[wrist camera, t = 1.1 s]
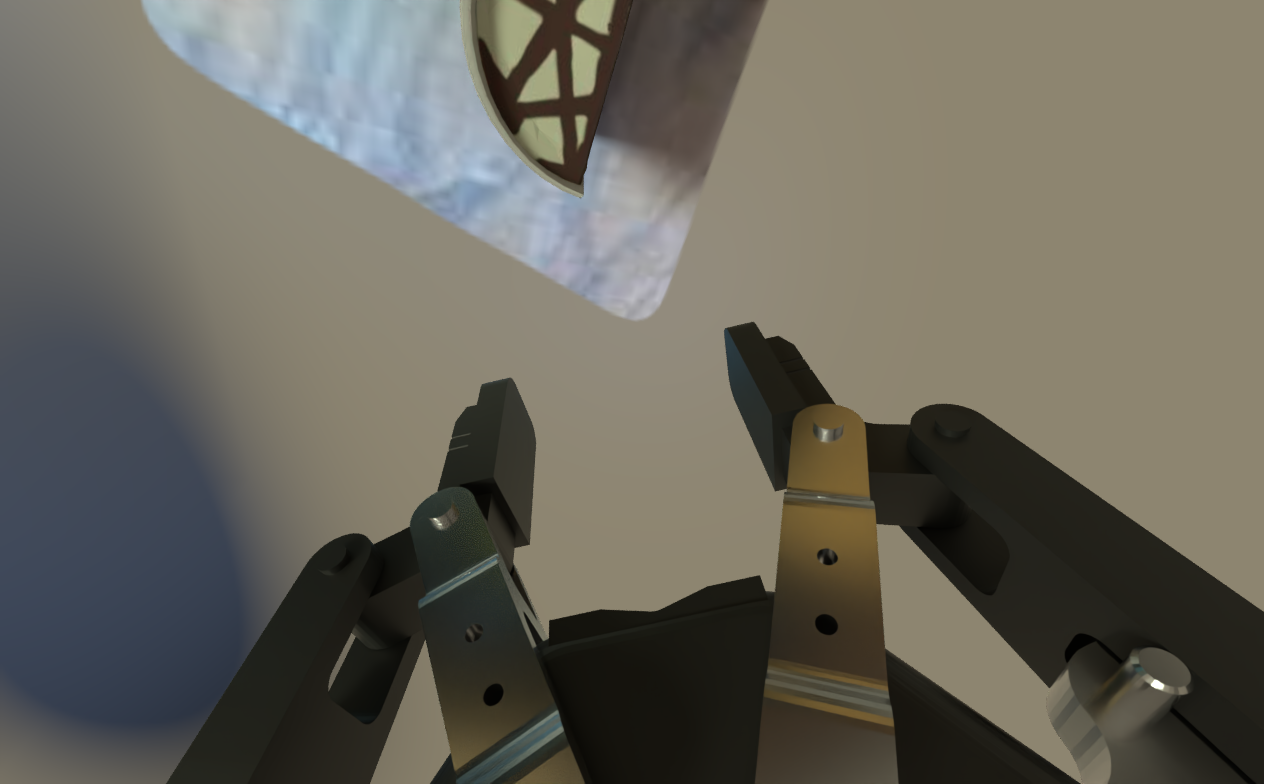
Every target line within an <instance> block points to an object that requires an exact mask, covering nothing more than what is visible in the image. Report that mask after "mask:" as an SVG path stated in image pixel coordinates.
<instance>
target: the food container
mask: <svg viewBox="0 0 1264 784" xmlns="http://www.w3.org/2000/svg"><path fill="white" fill-rule="evenodd" d="M632 2H633V0H460V18H461V30H462V40H463V45H464V50H465V55H466V59H467V64H468V69H469V71H470V74H471V77H472V80H473V83H474V86H475V88H476V91H477V94H478V97H479V99H480V101H481V103H482V105H483V107H484V109H485V111H486V112H487V114H488V116H489V118H490V120H491V122H492V123H493V125H494V126H495V128H496V129H497V131H498V132H499V134H500V135H501V137H502V138H503V139H504V141H505V142H506V143H507V145H508V146H509V147H510V148H511V149H512V150H513V151H514V152H515V154H516V155H517V156H518V157H519V158H520V159H521V160H522V161H523V163H525V164H526V165H527V166H528V167H529V168H531V169H532V170H533V171H534V172H535V173H536V174H538V175H539V176H540V177H541V178H543V179H544V180H546V181H547V182H549V183H551V184H552V185H554V186H556V187H557V188H559V189H560V190H562V191H565V192H567V193H569V194H572V195H574V196H576V197H579V198H581V196H582V197H583V195H584V173H585V171H586V169H587V162H588V157H589V154H590V150H591V146H592V143H593V139H594V136H595V132H596V129H597V126H598V122H599V119H600V115H601V111H602V108H603V104H604V101H605V97H606V94H607V90H608V87H609V83H610V80H611V76H612V73H613V70H614V66H615V63H616V59H617V56H618V53H619V49H620V46H621V42H622V39H623V35H624V31H625V28H626V24H627V20H628V16H629V13H630V9H631V5H632Z"/></svg>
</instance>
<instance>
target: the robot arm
mask: <svg viewBox="0 0 1264 784" xmlns="http://www.w3.org/2000/svg"><path fill="white" fill-rule="evenodd" d="M724 336H725V346H726V355H727V366H728V375H729V382H730V386H731V391H732V394H733V397H734V400H735V402H736V404H737V407H738V409H739V411H740V413H741V415H742V418H743V420H744V422H745V424H746V427H747V429H748V431H749V434H750V436H751V438H752V440H753V443H754V445H755V447H756V449H757V452H758V454H759V456H760V458H761V460H762V463H763V465H764V467H765V470H766V471H767V474H768V476H769V478H770V481H771V483H772V485H773V487H774V490H775V491H779V490H783V489H787V492H785V493H784V499H783V509H782V520H781V531H780V543H779V553H778V563H777V574H776V585H775V592H769V591H765V589H764V586H763V583H762V580H761V577H760V576H754V577H749V578H745V579H740V580H736V581H731V582H726V583H721V584H717V585H712V586H707V587H706V588H704V589H701V590H699V591H697V592H695V593H693V594H691V595H689V596H687V597H685V598H683V599H681V600H679V601H677V602H675V603H673V604H671V605H669V606H667V607H665V608H663V609H661V610H658V611H652V612H648V611H623V610H596V611H591V612H587V613H582V614H578V615H573V616H568V617H563V618H559V619H555V620H550V621H549V639H548V637H547V635H546V633H545V631H544V629H543V626H542V624H541V622H540V620H539V617H538V615H537V613H536V611H535V609H534V606H533V604H532V602H531V599H530V597H529V595H528V593H527V591H526V588H525V586H524V584H523V582H522V579H521V577H520V575H519V573H518V571H517V568H516V567H515V565H514V563H513V557H514V548H516V547H521V546H526V545H530V531H531V514H532V499H533V482H534V467H535V451H536V438H535V432H534V428H533V425H532V422H531V419H530V417H529V415H528V413H527V410H526V408H525V405H524V403H523V401H522V399H521V396H520V394H519V392H518V389H517V387H516V384H515V382H514V381H513V379H512V378H507V379H502V380H498V381H493V382H489V383H485V384H482V386H481V389H480V393H479V398H478V402H477V405H475V406H470V407H467V408H466V409H465V410H464V412H463V413H462V414H461V415H460V417H459V418H458V419H457V421H456V422H455V426H454V430H453V434H452V439H451V441H450V445H449V452H448V453H447V456H446V460H445V465H444V468H443V472H442V476H441V479H440V483H439V487H438V491H437V492H436V493H434V494H432V495H431V496H429V497H428V498H427V499H425V500H424V501H423V502H422V503H421V504H420V505H419V506H418V507H417V509H416V510H415V511H414V513H413V515H412V517H411V521H410V527H408V528H406V529H404V530H402V531H401V532H398V533H396V534H394V535H392V536H390V537H388V538H386V539H384V540H382V541H380V542H378V543H376V544H373V543H372V542H371V541H370V540H369V539H368V538H367V537H366V536H365V535H362V534H354V533H353V534H348V535H344V536H341V537H339V538H336V539H334V540H332V541H331V542H329V543H328V544H326V545H325V546H323V547H322V548H321V549H320V550H319V551H318V552H316V553H315V554H314V555H313V556H312V558H311V559H310V560H309V561H308V563H307V564H306V566H305V567H304V569H303V570H302V572H301V573H300V575H299V577H298V578H297V580H296V581H295V583H294V584H293V586H292V588H291V589H290V591H289V592H288V594H287V595H286V597H285V599H284V600H283V602H282V603H281V605H280V606H279V608H278V609H277V611H276V613H275V614H274V616H273V617H272V619H271V621H270V622H269V623H268V625H267V627H266V628H265V630H264V631H263V633H262V635H261V636H260V638H259V639H258V641H257V642H256V644H255V645H254V647H253V649H252V650H251V652H250V653H249V655H248V656H247V658H246V660H245V661H244V663H243V664H242V666H241V667H240V669H239V670H238V672H237V674H236V675H235V677H234V678H233V680H232V682H231V683H230V685H229V686H228V688H227V689H226V691H225V693H224V694H223V696H222V697H221V699H220V700H219V702H218V703H217V705H216V706H215V708H214V710H213V711H212V713H211V714H210V716H209V717H208V719H207V721H206V722H205V724H204V725H203V727H202V728H201V730H200V731H199V733H198V735H197V736H196V738H195V739H194V741H193V742H192V744H191V746H190V747H189V749H188V750H187V752H186V754H185V755H184V757H183V758H182V760H181V761H180V763H179V764H178V766H177V768H176V769H175V771H174V772H173V774H172V775H171V777H170V778H169V780H168V782H167V783H166V784H370V782H371V779H372V777H373V774H374V771H375V769H376V766H377V764H378V761H379V758H380V756H381V753H382V750H383V748H384V745H385V743H386V740H387V737H388V735H389V732H390V730H391V727H392V724H393V722H394V719H395V717H396V714H397V711H398V709H399V706H400V704H401V701H402V698H403V696H404V693H405V691H406V688H407V685H408V683H409V680H410V677H411V675H412V672H413V670H414V667H415V665H416V662H417V659H418V657H419V654H420V652H421V649H422V646H423V644H424V641H425V640H426V645H427V649H428V654H429V658H430V663H431V667H432V671H433V676H434V680H435V685H436V689H437V694H438V698H439V702H440V707H441V712H442V716H443V720H444V725H445V729H446V734H447V739H448V743H449V747H450V752H451V753H450V755H449V756H448V758H447V759H446V761H445V762H444V764H443V765H442V767H441V768H440V770H439V771H438V773H437V774H436V776H435V777H434V779H433V780H432V781H431V783H430V784H1080V783H1079V782H1077V781H1076V780H1074V779H1073V778H1071V777H1070V776H1069V775H1067V774H1066V773H1064V772H1063V771H1061V770H1060V769H1059V768H1057V767H1055V766H1054V765H1053V764H1051V763H1050V762H1048V761H1047V760H1046V759H1044V758H1043V757H1041V756H1040V755H1038V754H1037V753H1035V752H1034V751H1033V750H1031V749H1030V748H1028V747H1027V746H1025V745H1024V744H1022V743H1021V742H1020V741H1018V740H1016V739H1015V738H1014V737H1012V736H1011V735H1009V734H1008V733H1007V732H1005V731H1004V730H1002V729H1001V728H999V727H998V726H996V725H995V724H993V723H992V722H991V721H989V720H988V719H986V718H985V717H983V716H982V715H981V714H979V713H978V712H976V711H975V710H973V709H972V708H970V707H969V706H967V705H966V704H965V703H963V702H962V701H960V700H959V699H957V698H956V697H955V696H953V695H951V694H950V693H949V692H947V691H945V690H944V689H943V688H942V687H940V686H939V685H937V684H936V683H934V682H933V681H931V680H930V679H929V678H927V677H926V676H924V675H923V674H921V673H920V672H918V671H917V670H915V669H914V668H913V667H911V666H910V665H908V664H907V663H905V662H904V661H902V660H901V659H900V658H898V657H896V656H895V655H894V654H892V653H891V652H889V651H888V650H887V649H885V641H884V626H883V613H882V598H881V585H880V584H881V583H880V570H879V556H878V542H877V528H876V524H884V525H899V526H900V527H901V529H902V530H903V531H904V532H905V533H906V534H907V535H908V536H909V537H910V538H911V540H913V542H914V543H915V544H916V545H917V546H918V547H919V548H920V549H921V550H922V551H923V552H924V554H925V555H926V556H927V557H928V558H929V559H930V560H931V561H932V562H933V563H934V564H935V565H936V566H937V568H938V569H939V570H940V571H941V572H942V573H943V574H944V575H945V576H946V577H947V578H948V579H949V580H950V582H951V583H952V584H953V585H954V586H955V587H956V588H957V589H958V590H959V591H960V592H961V593H962V594H963V595H964V596H965V597H966V599H967V600H968V601H969V602H970V603H971V604H972V605H973V606H974V607H975V608H976V610H977V611H978V612H979V613H980V614H981V615H982V616H983V617H984V618H985V619H986V620H987V621H988V622H989V624H990V625H991V626H992V627H993V628H994V629H995V630H996V631H997V632H998V633H999V634H1000V635H1001V637H1002V638H1003V639H1004V640H1005V641H1006V642H1007V643H1008V644H1009V645H1010V646H1011V647H1012V648H1013V649H1014V651H1015V652H1016V653H1017V654H1018V655H1019V656H1020V657H1021V658H1022V659H1023V660H1024V661H1025V662H1026V663H1027V664H1028V665H1029V667H1030V668H1031V669H1032V670H1033V671H1034V672H1035V673H1036V674H1037V675H1038V676H1039V677H1040V679H1041V680H1042V681H1043V682H1044V683H1045V684H1046V685H1047V686H1048V687H1049V688H1050V689H1049V692H1048V694H1047V699H1046V707H1047V712H1048V716H1049V719H1050V721H1051V723H1052V725H1053V727H1054V729H1055V731H1056V733H1057V734H1058V736H1059V737H1060V739H1061V740H1062V741H1063V743H1064V744H1065V746H1066V747H1067V748H1068V750H1069V751H1070V753H1071V755H1072V756H1073V758H1074V760H1075V762H1076V764H1077V767H1078V769H1079V772H1080V775H1081V780H1082V784H1264V612H1263V611H1262V610H1260V609H1259V608H1257V607H1256V606H1254V605H1253V604H1252V603H1250V602H1249V601H1247V600H1246V599H1245V598H1243V597H1242V596H1240V595H1239V594H1237V593H1236V592H1235V591H1233V590H1232V589H1230V588H1229V587H1227V586H1226V585H1225V584H1223V583H1222V582H1220V581H1219V580H1217V579H1216V578H1215V577H1213V576H1212V575H1210V574H1209V573H1207V572H1206V571H1205V570H1203V569H1202V568H1200V567H1199V566H1197V565H1196V564H1195V563H1193V562H1192V561H1190V560H1189V559H1187V558H1186V557H1185V556H1183V555H1181V554H1180V553H1179V552H1177V551H1176V550H1174V549H1173V548H1172V547H1170V546H1169V545H1167V544H1166V543H1165V542H1163V541H1162V540H1160V539H1159V538H1157V537H1156V536H1155V535H1153V534H1152V533H1150V532H1149V531H1147V530H1146V529H1145V528H1143V527H1142V526H1140V525H1139V524H1137V523H1136V522H1135V521H1133V520H1132V519H1130V518H1129V517H1127V516H1126V515H1124V514H1123V513H1122V512H1120V511H1119V510H1117V509H1116V508H1115V507H1113V506H1112V505H1110V504H1109V503H1107V502H1106V501H1105V500H1103V499H1102V498H1100V497H1099V496H1097V495H1096V494H1095V493H1093V492H1092V491H1090V490H1089V489H1087V488H1086V487H1084V486H1083V485H1081V484H1080V483H1079V482H1077V481H1076V480H1074V479H1073V478H1072V477H1070V476H1069V475H1067V474H1066V473H1064V472H1063V471H1062V470H1060V469H1059V468H1057V467H1056V466H1054V465H1053V464H1052V463H1050V462H1049V461H1047V460H1046V459H1045V458H1043V457H1041V456H1040V455H1039V454H1037V453H1036V452H1035V451H1033V450H1032V449H1030V448H1029V447H1027V446H1026V445H1025V444H1023V443H1022V442H1020V441H1019V440H1017V439H1016V438H1015V437H1013V436H1012V435H1010V434H1009V433H1007V432H1006V431H1005V430H1003V429H1002V428H1000V427H999V426H997V425H996V424H995V423H993V422H992V421H990V420H989V419H987V418H986V417H985V416H983V415H982V414H980V413H978V412H976V411H974V410H972V409H969V408H966V407H963V406H959V405H953V404H935V405H929V406H926V407H924V408H921V409H920V410H918V411H917V412H916V413H915V414H914V415H913V416H912V418H911V423H910V425H899V424H872V423H866V422H864V421H863V419H861V417H860V416H859V415H858V414H857V413H856V412H854V411H853V410H851V409H849V408H846V407H843V406H840V405H836V404H835V403H834V401H833V400H832V398H831V397H830V396H829V394H828V393H827V391H826V390H825V388H824V387H823V386H822V384H821V383H820V381H819V380H818V378H817V377H816V376H815V374H814V373H813V371H812V370H810V367H809V366H808V364H807V363H806V361H805V360H803V357H802V356H801V354H800V353H799V351H798V350H797V348H796V347H795V345H794V344H792V343H790V342H788V341H787V340H785V339H783V338H781V337H779V336H776V337H771V338H767V339H765V338H764V337H763V335H762V333H761V332H760V330H759V329H758V327H757V325H756V324H755V323H754V322H750V323H745V324H741V325H737V326H733V327H728V328H725V330H724ZM351 633H352V634H354V635H355V636H356V637H355V639H354V642H353V644H352V646H351V648H350V650H349V652H348V654H347V656H346V658H345V660H344V662H343V664H342V666H341V668H340V670H339V672H338V674H337V676H336V678H335V680H334V682H333V684H332V686H331V688H330V690H329V691H328V684H329V679H330V675H331V673H332V670H333V668H334V666H335V664H336V662H337V660H338V658H339V656H340V654H341V652H342V650H343V648H344V646H345V644H346V643H347V641H348V639H349V637H350V634H351Z"/></svg>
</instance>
